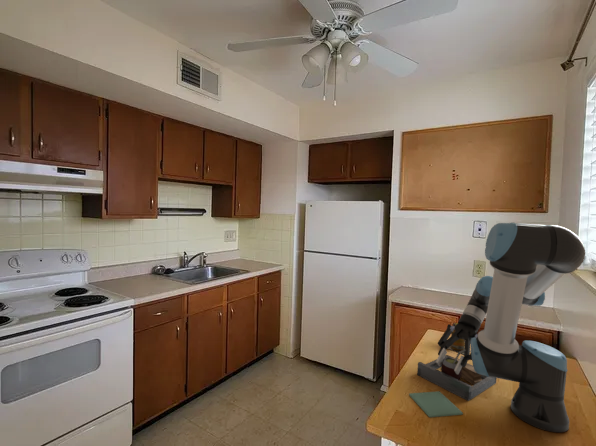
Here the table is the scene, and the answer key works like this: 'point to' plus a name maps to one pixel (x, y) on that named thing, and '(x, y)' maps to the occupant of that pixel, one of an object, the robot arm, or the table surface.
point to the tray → (453, 380)
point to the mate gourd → (451, 366)
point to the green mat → (435, 404)
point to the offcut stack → (470, 374)
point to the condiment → (457, 343)
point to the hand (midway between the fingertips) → (446, 368)
